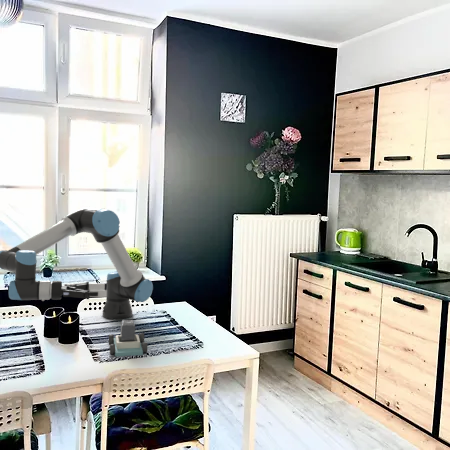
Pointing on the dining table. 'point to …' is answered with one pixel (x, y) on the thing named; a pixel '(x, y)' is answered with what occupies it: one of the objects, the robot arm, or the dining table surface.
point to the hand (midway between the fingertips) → (105, 290)
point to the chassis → (127, 346)
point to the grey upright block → (127, 331)
